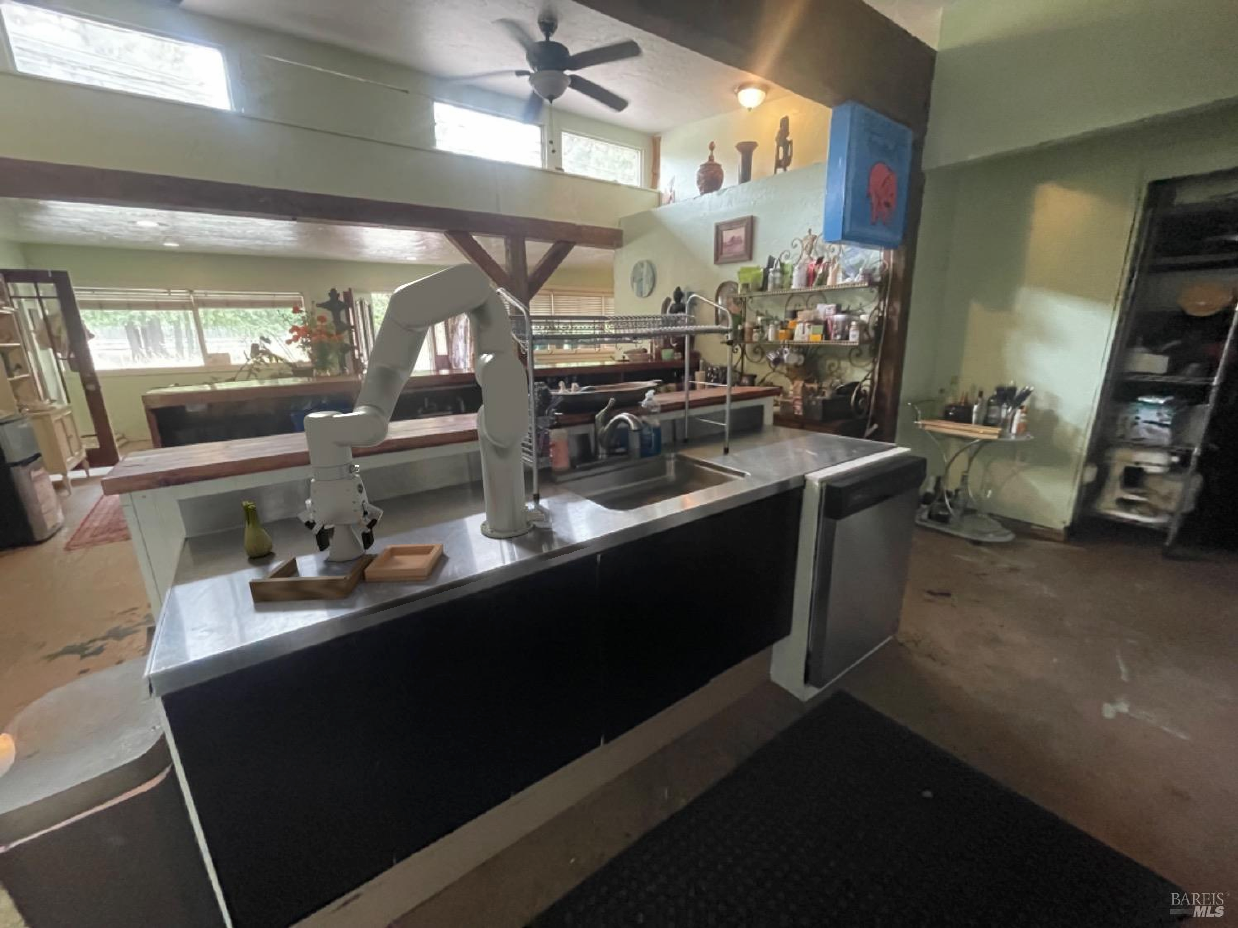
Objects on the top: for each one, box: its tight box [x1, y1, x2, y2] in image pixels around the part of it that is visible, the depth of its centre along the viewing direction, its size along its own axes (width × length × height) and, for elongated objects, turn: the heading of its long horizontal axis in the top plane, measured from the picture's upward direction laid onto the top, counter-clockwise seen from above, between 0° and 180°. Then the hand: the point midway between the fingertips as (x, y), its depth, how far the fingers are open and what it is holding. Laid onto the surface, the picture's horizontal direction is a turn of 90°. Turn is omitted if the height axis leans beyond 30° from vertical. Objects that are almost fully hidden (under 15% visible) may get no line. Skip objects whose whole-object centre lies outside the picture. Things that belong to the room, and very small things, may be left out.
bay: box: [248, 553, 374, 603], centre depth 95 cm, size 16×12×4 cm
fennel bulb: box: [241, 501, 274, 558], centre depth 107 cm, size 6×5×12 cm
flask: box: [327, 524, 366, 563], centre depth 106 cm, size 7×7×10 cm
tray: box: [364, 542, 445, 583], centre depth 102 cm, size 12×12×2 cm
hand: (346, 547), depth 107 cm, fingers open, 8 cm apart
